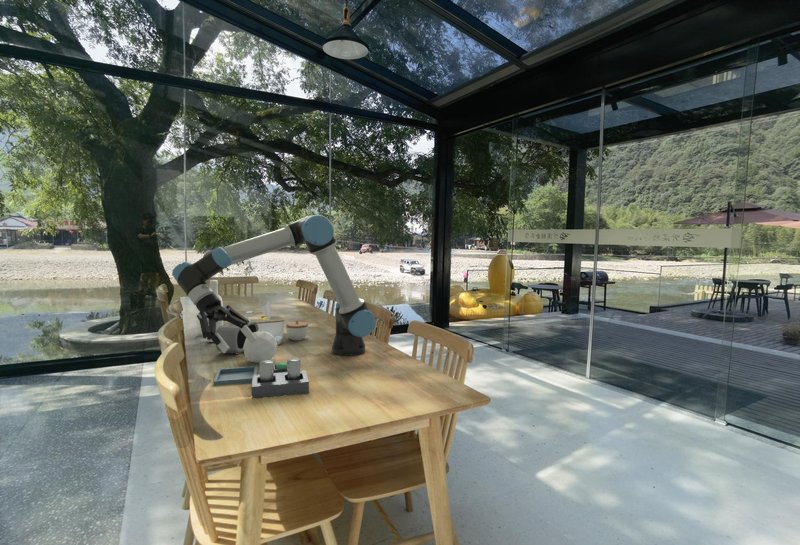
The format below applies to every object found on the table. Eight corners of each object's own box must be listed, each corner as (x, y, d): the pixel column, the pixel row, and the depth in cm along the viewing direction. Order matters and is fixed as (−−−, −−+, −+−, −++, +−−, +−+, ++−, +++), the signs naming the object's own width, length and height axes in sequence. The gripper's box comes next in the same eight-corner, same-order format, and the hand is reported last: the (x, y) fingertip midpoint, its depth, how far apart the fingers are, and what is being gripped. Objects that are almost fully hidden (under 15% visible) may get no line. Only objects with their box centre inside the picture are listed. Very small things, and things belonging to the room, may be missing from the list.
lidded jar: (305, 341, 208) (305, 322, 207) (283, 341, 208) (283, 322, 207) (310, 336, 218) (310, 318, 217) (289, 336, 218) (289, 318, 218)
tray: (257, 371, 162) (257, 365, 162) (256, 383, 149) (256, 377, 148) (218, 374, 158) (218, 368, 158) (213, 387, 145) (213, 381, 144)
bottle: (205, 343, 202) (203, 281, 200) (207, 339, 210) (206, 279, 207) (223, 342, 204) (221, 281, 202) (225, 338, 212) (223, 279, 209)
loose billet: (273, 387, 145) (273, 359, 144) (273, 392, 141) (273, 363, 140) (260, 389, 144) (259, 360, 143) (260, 393, 140) (259, 364, 139)
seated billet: (300, 385, 148) (299, 357, 147) (301, 390, 143) (300, 361, 142) (287, 386, 146) (286, 358, 145) (287, 391, 142) (287, 362, 141)
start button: (288, 369, 159) (288, 361, 158) (288, 373, 155) (288, 365, 154) (276, 370, 157) (275, 362, 157) (276, 374, 153) (276, 366, 153)
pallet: (305, 381, 152) (305, 370, 151) (308, 393, 140) (308, 381, 140) (253, 386, 146) (253, 374, 146) (252, 399, 135) (251, 386, 135)
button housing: (291, 373, 160) (291, 362, 160) (292, 379, 154) (292, 368, 153) (272, 374, 158) (272, 364, 158) (272, 380, 152) (272, 370, 151)
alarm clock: (235, 357, 181) (234, 326, 180) (215, 355, 182) (214, 325, 181) (259, 344, 201) (259, 317, 200) (241, 343, 203) (240, 316, 201)
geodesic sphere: (240, 356, 161) (261, 326, 166) (229, 349, 172) (248, 320, 176) (269, 373, 169) (288, 343, 174) (257, 364, 180) (275, 336, 184)
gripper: (181, 297, 135) (220, 347, 131) (235, 288, 158) (269, 331, 155) (169, 312, 137) (207, 362, 134) (225, 301, 161) (258, 343, 157)
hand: (241, 345), depth 144 cm, fingers open, 13 cm apart
